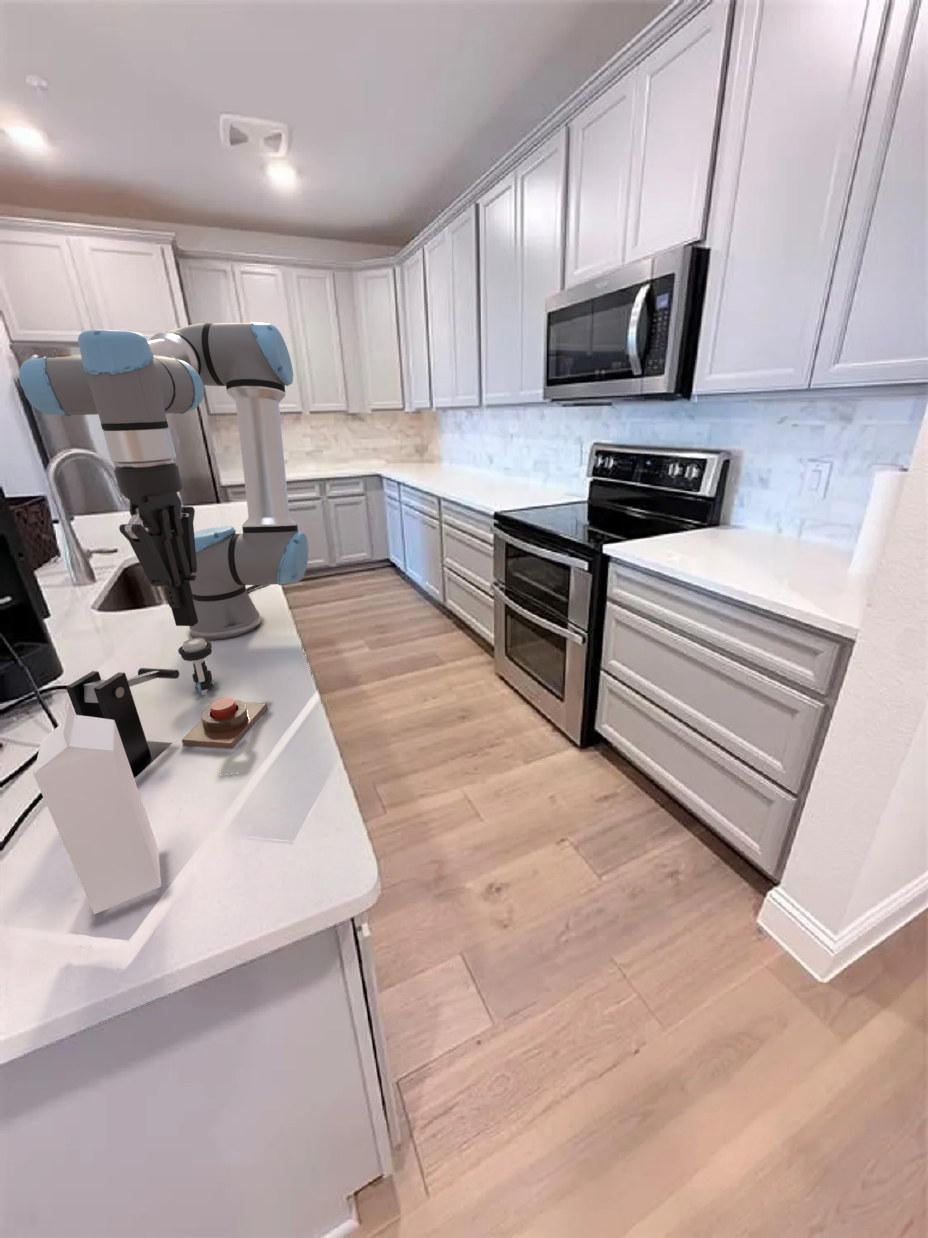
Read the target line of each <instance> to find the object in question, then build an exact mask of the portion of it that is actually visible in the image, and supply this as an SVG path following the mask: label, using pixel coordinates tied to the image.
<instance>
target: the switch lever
mask: <svg viewBox="0 0 928 1238" xmlns="http://www.w3.org/2000/svg"><path fill="white" fill-rule="evenodd" d="M179 677H180V671H179V669H174V668H173V669H172V668H171V669H170V668H148V667H140V668H139V669H138V670H137V675H135V676H130V677H127V681H128V684H129V687H133V686H137V685H140V684H144V683H146V682H149V681H152V680H156V679H171V680H177V679H179ZM106 680H107V679H101V680H99V681H95V682H91V683H88V684H84V685H83V686H84V700H85V702H90V703H98V700H97V697H96V694H95V691H94V688H95V687H97V686H98V685H100V684H102V683H103V682H105V681H106Z"/></svg>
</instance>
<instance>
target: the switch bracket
mask: <svg viewBox="0 0 928 1238" xmlns="http://www.w3.org/2000/svg"><path fill="white" fill-rule="evenodd" d="M127 678H128V677H127V674H126V672H117V673H115V674H114V675H112V676H110V677H109V678H107V679H105V680H106V681H105V682H103V683H102V684H100V685H98V686H97V687H95V688H94V691H95V694H96V697H97V700H98V703H90V702H85V700H84V686H83V685H84V684H88V683H91V682H95V681H99V680H102V678H101V674H100V671H97V670H91V671H90V672H89V673H87V674H85V675H84V676H82V677H80V678H79V679H77V680H75V681H74V682H72V683H70V684H68V685H67V686H66V687H65V689H66V692H67V695H68V697H69V700H70V702H71V706H72V707H73V708H72V709H73V710H74V714H75V715H81V716H89V717H96V718H104V719H111V720H114V721H115V723H116V726H117V729H118V732H119V735H120V738H121V741H122V744H123V747H124V750H125V753H126V756H127V759H128V762H129V764H130V767H131V770H132V773H133V776H134V779H136V778H137V777H139V775H141V774H142V773H143V772H144V771H145V770H146V769H147V768H148V767H149V766H150V765H151V764H152V763H153V762H154V761H155V760H156V759H157V758H158V757H159V756H161V754H163V753H164V752H165V751H166V750H167V749H168V748H169V747H170V746H171V745H173V742H167V741H151V740H147V738H146V734H145V731H144V729H143V724H142V721H141V718H140V716H139V713H138V710H137V706H136V703H135V700H134V697H133V694H132V691H131V688H130V687H131V686H130V687H129V684H128V681H127Z"/></svg>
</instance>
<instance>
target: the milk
mask: <svg viewBox="0 0 928 1238" xmlns="http://www.w3.org/2000/svg"><path fill="white" fill-rule="evenodd" d="M72 707H73V706H72V704H71V703H70V702H67V705H66V710H65V715H64V718H63V719H64V720H63V722H62V723H60V724H59V725H58V726H57V727H55V728H54V729H53V730H52V731H50V732H49V733H48V734H47V735H45V736H44V737H42V739H41V742H40V746H39V749H38V753H37V757H36V760H35V765H34V769H33V773H32V775H33V777H34V779H35V782H36V784H37V786H38V788H39V791H40V793H41V796H42V798H43V800H44V802H45V805H46V807H47V809H48V811H49V814H50V816H51V818H52V821H53V823H54V825H55V828H56V830H57V832H58V835H59V837H60V839H61V841H62V844H63V846H64V848H65V850H66V852H67V855H68V858H69V861H70V862H71V865H72V866H73V869H74V871H75V873H76V876H77V878H78V880H79V882H80V884H81V887H82V890H83V891H84V894H85V896H86V899H87V901H88V903H89V905H90V908H91V910H92V912H93V915H96V914H98V913H101V912H104V911H106V910H108V909H111V908H113V907H115V906H118V905H121V904H123V903H125V902H127V901H130V900H132V899H135V898H137V897H140V896H142V895H145V894H147V893H150V892H152V891H154V890H156V889H159V888H161V887H162V878H161V866H160V865H161V864H160V852H159V851H160V850H159V846H158V844H157V841H156V838H155V835H154V833H153V829H152V827H151V823H150V820H149V818H148V815H147V812H146V809H145V806H144V803H143V801H142V797H141V794H140V791H139V789H138V786H137V785H138V784H137V783H136V780H135V779H136V778H135V779H134V776H133V773H132V770H131V767H130V764H129V762H128V759H127V756H126V753H125V750H124V747H123V744H122V741H121V738H120V735H119V732H118V729H117V726H116V723H115V721H114V720H111V719H104V718H96V717H89V716H81V715H76V713H75V711H73V710H74V709H73V708H72Z"/></svg>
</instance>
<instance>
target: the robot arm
mask: <svg viewBox="0 0 928 1238" xmlns="http://www.w3.org/2000/svg"><path fill="white" fill-rule="evenodd" d="M77 342H78V343H77V344H78V348H79V352H80V354H73V355H69V356H61V357H58V356H57V357H50V356H43V357H38V358H37V357H35V358H28V359H26V360H25V361H23V362H22V364H21V365H20V368H19V372H18V373H19V374H18V377H19V385H20V387H21V388H22V390H23V393H24V397H25V398H26V399H27V401H28V402H29V404H31V406H32V407H34V408H35V409H36V410H37V411H39V412H40V413H43V414H46V415H48V416H65V417H71V416H90V415H91V416H93V415H98V417H99V421H100V426H101V430H103V435H104V438H105V442H106V446H107V449H108V453H109V457H110V461H111V462H112V463H114V464H117V465H118V466H116V467H115V466H114V469H113V474H114V476H115V479H116V480H115V481H116V483H117V487H118V490H119V493H120V494H121V495H122V496H124V497H126V498H127V499H128V501H129V514H130V519H129V520H128V522H127V523H121V524H120V525H119V527H118V529H119V532H120V534H122V535H123V536H124V537H125V539H126V540H127V541H128V542H129V544H130V547H131V548H132V550H133V552H134V555H135V556H136V558H137V560H138V562H139V564H140V566H141V568H142V570H143V572H144V574H145V576H146V578H147V580H148V583H149V585H150V586H151V587H159V588H160V587H162V588H163V590H164V593H165V596H166V600H167V604H168V606H169V608H171V613H172V615H173V616H172V617H173V619H174V624H175V626H177V627H189V630H190V631H189V632H190V634H191V636H193V637H194V638H203V639H204V640H205V641H209V640H213V641H214V640H224V639H225V640H226V639H230V638H234V637H238V636H242V635H244V634H247V633H250V632H251V631H254V630H255V629H256V628H257V627H258V626H259V625H260V624H261V616H260V613H259V610H258V609H257V607H256V606H255V604H254V601H253V600H252V599H251V597H250V595H249V592H250V591H252V590H255V589H257V588H260V587H263V586H266V585H267V586H268V585H278V586H283V585H292V584H296V583H299V582H300V581H302V579H303V578H304V576H305V574H306V571H307V568H308V562H309V542H308V537H307V535H306V533H304V532H303V531H301V530H299V527H298V526H299V525H298V523H297V521H295V520H294V519H293V518H292V517H291V515H290V507H289V496H288V486H287V484H288V483H287V476H286V464H285V455H284V454H285V453H284V444H283V443H284V442H283V433H282V432H283V431H282V421H281V411H280V403H281V402H282V401H283V400H284V399H285V397H286V387H289V386H290V385H292V384H293V382H294V371H293V370H294V369H293V363H292V360H291V355H290V352H289V349H288V346H287V343H286V341H285V339H284V337H283V334H282V333H281V331H280V330H279V329H278V328H277V327H276V326H275V325H274V324H272V323H269V322H255V321H250V322H214V323H209V322H204V323H194V324H190V325H185V326H182V327H178V328H173V329H171V330H167V331H162V332H158V333H155V334H153V335H152V336H151V337H150V338H149V339H147V338H146V336H145V335H143V334H142V333H140V332H137V331H131V330H121V329H92V330H91V329H89V330H84V331H82V332H81V333H80V334H79V335H78V337H77ZM204 386H208V387H210V386H211V387H225V388H226V393H227V395H228V396H229V397H231V399H233V400H234V402H235V407H236V416H237V417H236V418H237V425H238V436H239V443H240V451H241V463H242V471H243V480H244V487H245V488H244V489H245V497H246V504H247V505H246V506H247V515H248V516H247V518H246V520H245V521H244V523H243V524H242V525H241V527H242V533H236V532H237V530H236V529H235V528H234V526H233V525H232V526H231V525H221V526H216V527H209V528H205V529H201V530H198V531H195V526H194V520H195V513H196V510H195V507H194V506H186V505H184V504H183V503H182V500H181V497H180V496H179V494H178V493H179V492H181V491H182V490H183V487H184V486H183V485H184V484H183V481H182V476H181V473H180V468H179V465H177V463H176V462H173V460H175V459H176V458H177V454H176V449H175V445H174V441H173V438H172V434H171V430H170V427H169V422H168V419H167V414H174V415H175V414H176V415H177V414H179V415H180V414H182V415H184V414H186V413H187V412H192V411H194V410H195V409H197V408H198V407H199V406H200V405H201V403H202V402H203V399H204V394H205V389H204ZM246 586H249V587H246Z"/></svg>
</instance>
